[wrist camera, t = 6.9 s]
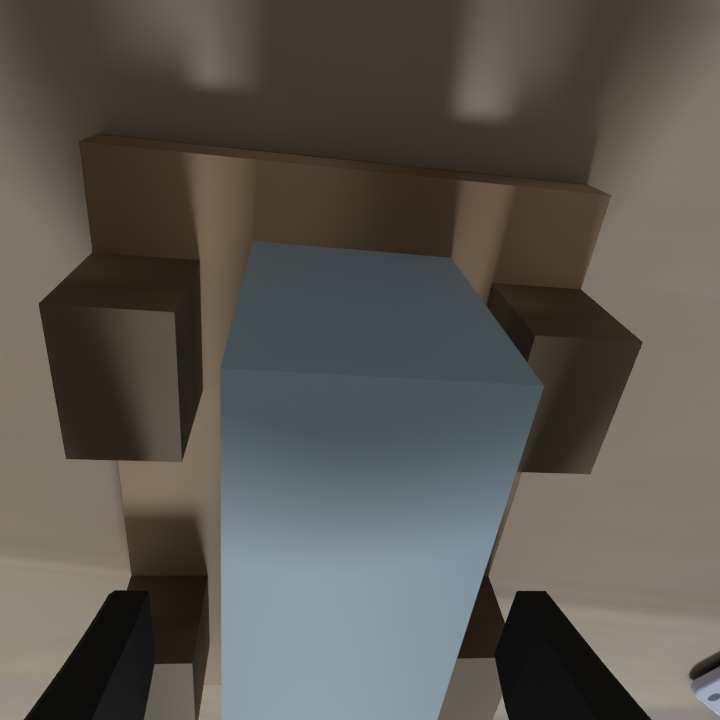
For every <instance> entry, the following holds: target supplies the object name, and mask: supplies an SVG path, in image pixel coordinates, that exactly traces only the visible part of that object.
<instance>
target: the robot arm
mask: <svg viewBox="0 0 720 720" xmlns="http://www.w3.org/2000/svg"><path fill="white" fill-rule="evenodd" d="M494 656H495V661H496V666H497V671H498V676H499V681H500V686H501V690H502V695H503V699H504V703H505V708H506V712H507V715H508V718H509V720H651V719H650V717H649V716H648V715H647V714H646V713H645V712H644V711H643V709H642V708H641V707H640V706H639V705H638V704H637V702H636V701H635V700H634V699H633V698H632V697H631V695H630V694H629V693H628V692H627V691H626V690H625V688H624V687H623V686H622V685H621V684H620V682H619V681H618V680H617V679H616V678H615V677H614V675H613V674H612V673H611V672H610V671H609V669H608V668H607V667H606V666H605V665H604V663H603V662H602V661H601V660H600V658H599V657H598V656H597V655H596V653H595V652H594V651H593V650H592V648H591V647H590V646H589V645H588V644H587V642H586V641H585V640H584V639H583V637H582V636H581V635H580V634H579V632H578V631H577V630H576V629H575V627H574V626H573V625H572V624H571V622H570V621H569V620H568V618H567V617H566V616H565V615H564V613H563V612H562V611H561V610H560V608H559V607H558V606H557V605H556V603H555V602H554V601H553V600H552V598H551V597H550V596H549V595H548V594H547V592H546V591H517V592H516V595H515V598H514V601H513V604H512V606H511V609H510V612H509V615H508V617H507V620H506V623H505V626H504V628H503V631H502V634H501V637H500V639H499V642H498V645H497V648H496V650H495V653H494ZM154 664H155V649H154V639H153V629H152V619H151V609H150V599H149V591H126V590H115V591H113V592H112V593H110V594H109V595H108V597H107V598H106V600H105V602H104V603H103V605H102V607H101V608H100V610H99V612H98V613H97V615H96V617H95V618H94V620H93V621H92V623H91V624H90V626H89V628H88V629H87V631H86V632H85V634H84V635H83V637H82V638H81V640H80V641H79V643H78V644H77V646H76V647H75V649H74V650H73V652H72V653H71V655H70V656H69V658H68V659H67V660H66V662H65V663H64V665H63V666H62V668H61V669H60V671H59V672H58V673H57V675H56V676H55V678H54V679H53V680H52V682H51V683H50V684H49V686H48V687H47V689H46V690H45V691H44V693H43V694H42V696H41V697H40V698H39V700H38V701H37V702H36V704H35V705H34V707H33V708H32V709H31V711H30V712H29V713H28V715H27V716H26V717H25V719H24V720H144V716H145V711H146V706H147V701H148V696H149V691H150V686H151V680H152V675H153V670H154ZM691 689H692V691H693V692H694V694H695V696H696V697H697V698H698V699H699V700H700V701H702V702H703V703H704V704H705V705H707V706H708V707H709V708H710V709H712V710H713V711H714V712H715V713H717V714H718V715H719V716H720V666H719V667H717V668H716V669H714V670H712V671H710V672H708V673H706V674H704V675H702V676H701V677H699V678H697V679H695V680H694V681H693V682H692V684H691Z"/></svg>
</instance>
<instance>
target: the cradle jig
mask: <svg viewBox="0 0 720 720" xmlns="http://www.w3.org/2000/svg"><path fill="white" fill-rule="evenodd" d="M79 143H80V152H81V160H82V168H83V176H84V185H85V193H86V201H87V210H88V218H89V226H90V234H91V243H92V251H93V252H92V253H91V254H90V255H89V256H88V257H87V258H86V259H85V260H84V261H83V262H82V263H81V264H80V265H79V266H78V267H77V268H76V269H75V270H74V271H72V272H71V273H70V274H69V275H68V276H67V277H66V278H65V279H64V280H63V281H62V282H61V283H60V284H59V285H58V286H57V287H56V288H55V289H54V290H53V291H52V292H51V293H50V294H48V295H47V296H46V297H45V298H44V299H43V300H42V301H41V302H40V303H39V308H40V314H41V319H42V325H43V331H44V336H45V342H46V348H47V353H48V359H49V365H50V370H51V376H52V382H53V387H54V393H55V399H56V404H57V410H58V416H59V421H60V427H61V433H62V438H63V444H64V450H65V455H66V459H88V460H118V467H119V475H120V483H121V492H122V500H123V508H124V516H125V525H126V533H127V541H128V550H129V558H130V566H131V574H132V576H131V579H130V582H129V585H128V588H127V591H149V599H150V609H151V619H152V629H153V639H154V649H155V664H154V670H153V675H152V680H151V686H150V691H149V696H148V701H147V706H146V711H145V716H144V720H198V717H199V711H200V704H201V698H202V692H203V685H216V684H222V672H221V451H220V367H221V363H222V359H223V355H224V351H225V348H226V344H227V340H228V336H229V332H230V328H231V324H232V321H233V317H234V313H235V309H236V305H237V301H238V297H239V293H240V290H241V286H242V282H243V278H244V274H245V270H246V266H247V263H248V259H249V255H250V251H251V247H252V243H253V241H260V242H272V243H283V244H295V245H307V246H318V247H330V248H342V249H354V250H365V251H377V252H389V253H401V254H412V255H424V256H436V257H447V258H452V259H453V261H454V262H455V263H456V265H457V266H458V268H459V269H460V270H461V272H462V273H463V275H464V276H465V277H466V279H467V280H468V281H469V283H470V284H471V286H472V287H473V288H474V290H475V291H476V292H477V294H478V295H479V297H480V298H481V299H482V301H483V302H484V304H485V305H486V306H487V308H488V309H489V310H490V312H491V313H492V315H493V316H494V317H495V319H496V320H497V321H498V323H499V324H500V326H501V327H502V328H503V330H504V331H505V332H506V334H507V335H508V337H509V338H510V339H511V341H512V342H513V344H514V345H515V346H516V348H517V349H518V350H519V352H520V353H521V355H522V356H523V357H524V359H525V360H526V361H527V363H528V364H529V366H530V367H531V368H532V370H533V371H534V372H535V374H536V375H537V377H538V378H539V379H540V381H541V382H542V384H543V385H544V388H543V391H542V394H541V398H540V401H539V404H538V407H537V410H536V413H535V416H534V419H533V423H532V426H531V429H530V432H529V435H528V438H527V441H526V444H525V447H524V451H523V454H522V457H521V460H520V463H519V466H518V469H517V472H516V476H515V479H514V482H513V485H512V488H511V491H510V494H509V497H508V500H507V504H506V507H505V510H504V513H503V516H502V519H501V522H500V525H499V529H498V532H497V535H496V538H495V541H494V544H493V547H492V550H491V554H490V557H489V560H488V563H487V566H486V569H485V572H484V575H483V578H482V582H481V585H480V588H479V591H478V594H477V597H476V600H475V603H474V607H473V610H472V613H471V616H470V619H469V622H468V625H467V628H466V631H465V635H464V638H463V641H462V644H461V647H460V650H459V653H458V656H457V660H456V663H455V666H454V669H453V672H452V675H451V678H450V681H449V685H448V688H447V691H446V694H445V697H444V700H443V703H442V706H441V709H440V713H439V716H438V719H437V720H492V719H493V717H494V714H495V712H496V709H497V707H498V704H499V702H500V699H501V697H502V690H501V686H500V681H499V676H498V671H497V666H496V661H495V656H494V653H495V650H496V648H497V645H498V642H499V639H500V637H501V634H502V631H503V628H504V626H505V622H504V619H503V616H502V614H501V611H500V608H499V605H498V602H497V600H496V597H495V594H494V591H493V588H492V585H491V583H490V580H489V577H488V576H489V573H490V570H491V566H492V563H493V560H494V557H495V554H496V551H497V548H498V545H499V542H500V538H501V535H502V532H503V529H504V526H505V523H506V520H507V517H508V514H509V511H510V507H511V504H512V501H513V498H514V495H515V492H516V489H517V486H518V483H519V479H520V476H521V473H522V472H538V473H573V474H590V473H591V471H592V468H593V466H594V463H595V461H596V458H597V456H598V453H599V451H600V448H601V446H602V443H603V441H604V438H605V436H606V433H607V430H608V428H609V425H610V423H611V420H612V418H613V415H614V413H615V410H616V408H617V405H618V403H619V400H620V398H621V395H622V393H623V390H624V388H625V385H626V383H627V380H628V378H629V375H630V373H631V370H632V368H633V365H634V363H635V360H636V358H637V355H638V353H639V350H640V348H641V345H642V343H643V342H642V341H641V340H639V339H638V338H637V337H636V336H635V335H634V334H632V333H631V332H630V331H629V330H628V329H626V328H625V327H624V326H623V325H622V324H621V323H619V322H618V321H617V320H616V319H615V318H614V317H612V316H611V315H610V314H609V313H608V312H607V311H605V310H604V309H603V308H602V307H601V306H600V305H598V304H597V303H596V302H595V301H594V300H592V299H591V298H590V297H589V296H588V295H587V294H585V293H584V292H583V291H582V290H581V287H582V284H583V281H584V278H585V275H586V272H587V268H588V265H589V262H590V259H591V256H592V253H593V250H594V247H595V244H596V240H597V237H598V234H599V231H600V228H601V225H602V222H603V219H604V216H605V213H606V209H607V206H608V203H609V200H610V197H611V195H609V194H607V193H604V192H602V191H600V190H598V189H596V188H594V187H592V186H589V185H583V184H574V183H564V182H554V181H545V180H535V179H525V178H516V177H506V176H496V175H487V174H477V173H467V172H458V171H448V170H438V169H429V168H419V167H409V166H400V165H390V164H380V163H371V162H361V161H351V160H342V159H332V158H322V157H313V156H303V155H293V154H284V153H274V152H264V151H255V150H245V149H235V148H226V147H216V146H206V145H197V144H187V143H177V142H168V141H158V140H148V139H139V138H129V137H119V136H110V135H100V134H97V135H95V136H92V137H90V138H87V139H85V140H82V141H80V142H79Z"/></svg>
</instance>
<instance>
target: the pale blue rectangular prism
mask: <svg viewBox="0 0 720 720" xmlns="http://www.w3.org/2000/svg"><path fill="white" fill-rule="evenodd" d="M543 388H544V385H543V384H542V382H541V381H540V379H539V378H538V377H537V375H536V374H535V372H534V371H533V370H532V368H531V367H530V366H529V364H528V363H527V361H526V360H525V359H524V357H523V356H522V355H521V353H520V352H519V350H518V349H517V348H516V346H515V345H514V344H513V342H512V341H511V339H510V338H509V337H508V335H507V334H506V332H505V331H504V330H503V328H502V327H501V326H500V324H499V323H498V321H497V320H496V319H495V317H494V316H493V315H492V313H491V312H490V310H489V309H488V308H487V306H486V305H485V304H484V302H483V301H482V299H481V298H480V297H479V295H478V294H477V292H476V291H475V290H474V288H473V287H472V286H471V284H470V283H469V281H468V280H467V279H466V277H465V276H464V275H463V273H462V272H461V270H460V269H459V268H458V266H457V265H456V263H455V262H454V261H453V259H452V258H447V257H436V256H424V255H412V254H401V253H389V252H377V251H365V250H354V249H342V248H330V247H318V246H307V245H295V244H283V243H272V242H260V241H253V243H252V247H251V251H250V255H249V259H248V263H247V266H246V270H245V274H244V278H243V282H242V286H241V290H240V293H239V297H238V301H237V305H236V309H235V313H234V317H233V321H232V324H231V328H230V332H229V336H228V340H227V344H226V348H225V351H224V355H223V359H222V363H221V367H220V451H221V672H222V720H437V719H438V716H439V713H440V709H441V706H442V703H443V700H444V697H445V694H446V691H447V688H448V685H449V681H450V678H451V675H452V672H453V669H454V666H455V663H456V660H457V656H458V653H459V650H460V647H461V644H462V641H463V638H464V635H465V631H466V628H467V625H468V622H469V619H470V616H471V613H472V610H473V607H474V603H475V600H476V597H477V594H478V591H479V588H480V585H481V582H482V578H483V575H484V572H485V569H486V566H487V563H488V560H489V557H490V554H491V550H492V547H493V544H494V541H495V538H496V535H497V532H498V529H499V525H500V522H501V519H502V516H503V513H504V510H505V507H506V504H507V500H508V497H509V494H510V491H511V488H512V485H513V482H514V479H515V476H516V472H517V469H518V466H519V463H520V460H521V457H522V454H523V451H524V447H525V444H526V441H527V438H528V435H529V432H530V429H531V426H532V423H533V419H534V416H535V413H536V410H537V407H538V404H539V401H540V398H541V394H542V391H543Z"/></svg>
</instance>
